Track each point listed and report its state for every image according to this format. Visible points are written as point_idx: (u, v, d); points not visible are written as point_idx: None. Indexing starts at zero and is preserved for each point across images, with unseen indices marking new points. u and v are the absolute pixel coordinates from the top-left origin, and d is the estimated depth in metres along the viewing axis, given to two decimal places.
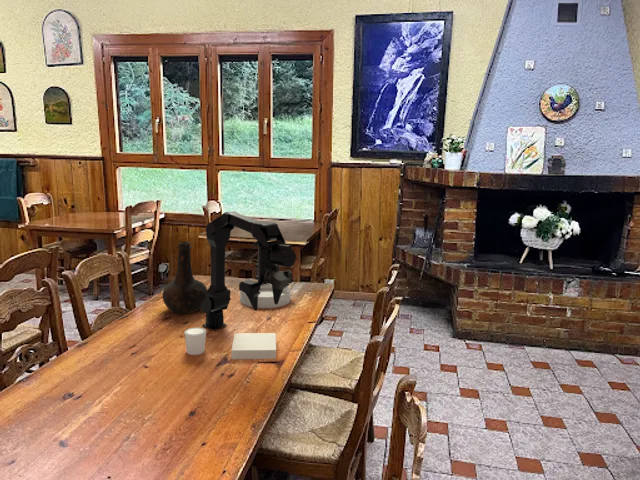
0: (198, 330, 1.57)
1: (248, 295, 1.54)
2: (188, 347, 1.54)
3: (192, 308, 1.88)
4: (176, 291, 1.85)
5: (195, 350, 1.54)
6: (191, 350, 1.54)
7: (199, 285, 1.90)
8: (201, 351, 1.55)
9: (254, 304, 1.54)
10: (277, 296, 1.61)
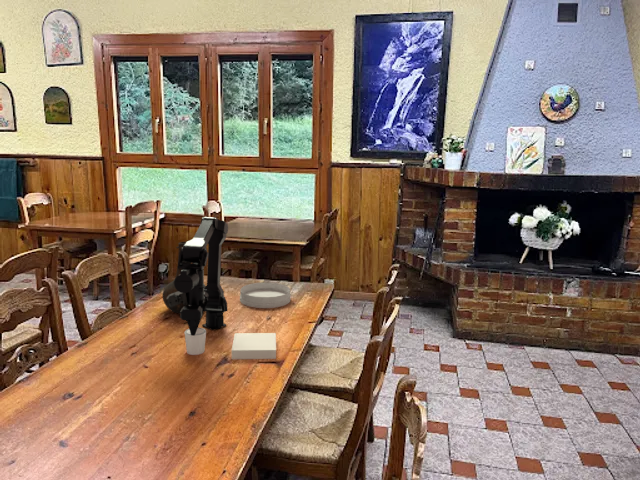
0: (198, 330, 1.57)
1: None
2: (188, 347, 1.54)
3: None
4: (176, 291, 1.85)
5: (195, 350, 1.54)
6: (191, 350, 1.54)
7: None
8: (201, 351, 1.55)
9: None
10: None
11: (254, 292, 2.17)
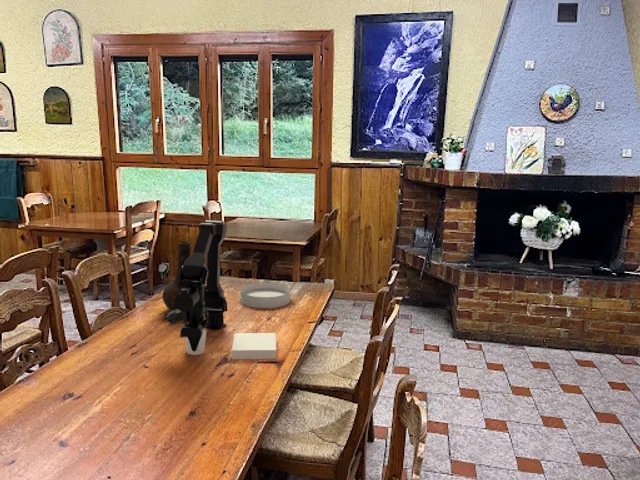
0: None
1: None
2: (188, 347, 1.54)
3: None
4: (176, 291, 1.85)
5: None
6: (191, 350, 1.54)
7: None
8: (201, 351, 1.55)
9: None
10: None
11: (254, 292, 2.17)
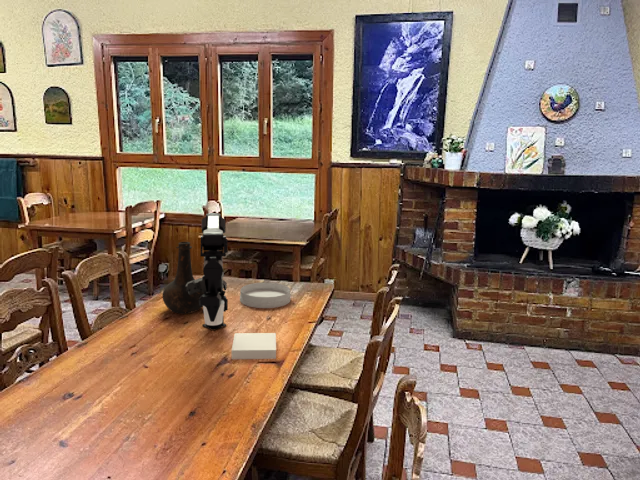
0: None
1: None
2: (206, 317, 1.53)
3: (192, 308, 1.88)
4: (176, 291, 1.85)
5: None
6: (209, 320, 1.53)
7: None
8: (219, 322, 1.54)
9: None
10: None
11: (254, 292, 2.17)
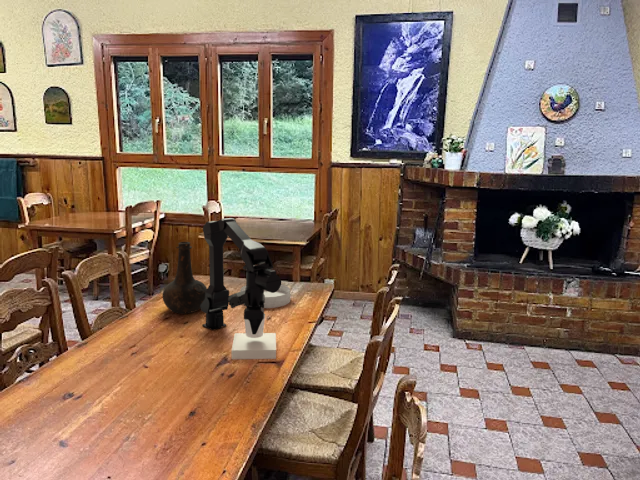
0: None
1: None
2: (248, 330, 1.56)
3: (192, 308, 1.88)
4: (176, 291, 1.85)
5: None
6: (251, 333, 1.56)
7: (199, 285, 1.90)
8: (260, 334, 1.57)
9: None
10: None
11: None
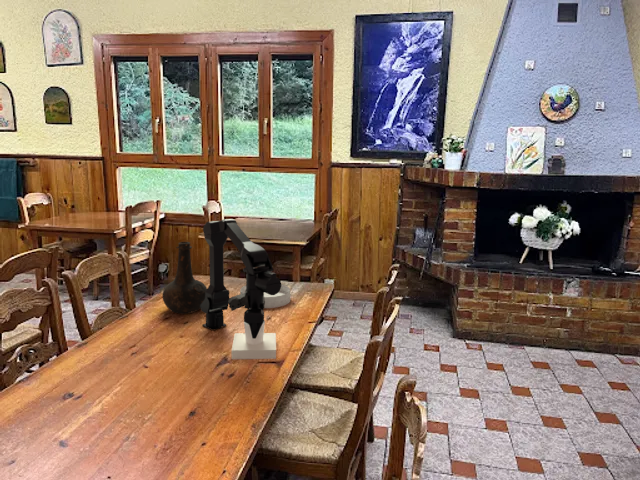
0: None
1: None
2: (248, 337, 1.56)
3: (192, 308, 1.88)
4: (176, 291, 1.85)
5: (255, 340, 1.56)
6: (251, 340, 1.56)
7: (199, 285, 1.90)
8: (260, 341, 1.57)
9: None
10: None
11: None
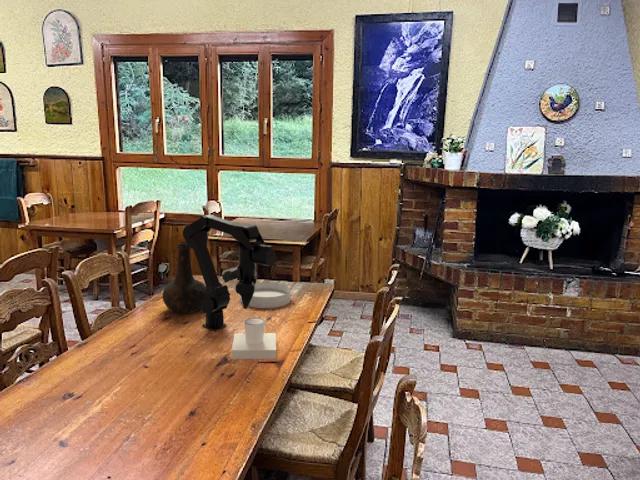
0: (257, 320, 1.59)
1: None
2: (248, 337, 1.56)
3: (192, 308, 1.88)
4: (176, 291, 1.85)
5: (255, 340, 1.56)
6: (251, 340, 1.56)
7: (199, 285, 1.90)
8: (261, 341, 1.57)
9: None
10: None
11: (254, 292, 2.17)
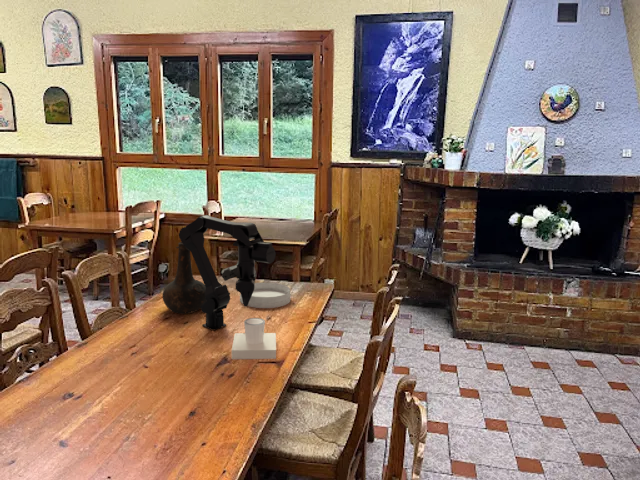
0: (257, 320, 1.59)
1: None
2: (248, 337, 1.56)
3: (192, 308, 1.88)
4: (176, 291, 1.85)
5: (255, 340, 1.56)
6: (251, 340, 1.56)
7: (199, 285, 1.90)
8: (261, 341, 1.58)
9: None
10: None
11: (254, 292, 2.17)
